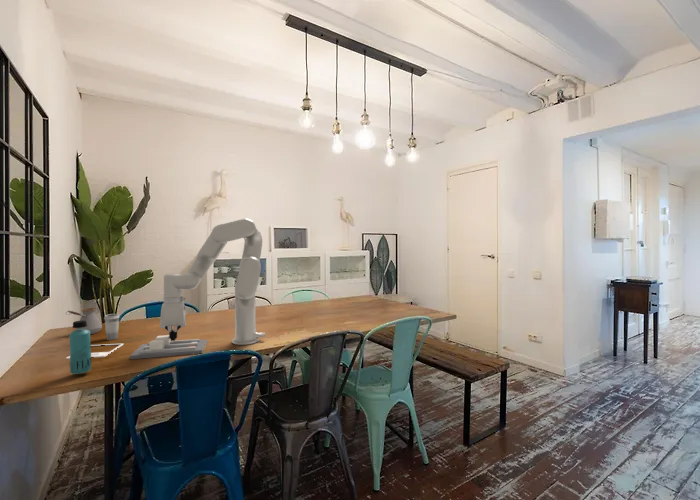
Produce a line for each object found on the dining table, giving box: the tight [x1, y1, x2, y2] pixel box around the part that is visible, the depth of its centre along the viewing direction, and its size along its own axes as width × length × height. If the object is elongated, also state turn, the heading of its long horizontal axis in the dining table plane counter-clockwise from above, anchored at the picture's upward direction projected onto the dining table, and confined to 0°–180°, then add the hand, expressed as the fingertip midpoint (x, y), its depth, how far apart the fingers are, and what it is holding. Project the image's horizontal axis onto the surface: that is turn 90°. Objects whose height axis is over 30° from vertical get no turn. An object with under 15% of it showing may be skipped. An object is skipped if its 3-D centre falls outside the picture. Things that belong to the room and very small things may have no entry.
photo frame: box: [65, 343, 124, 360], centre depth 156 cm, size 15×1×18 cm
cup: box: [103, 313, 120, 341], centre depth 176 cm, size 7×7×12 cm
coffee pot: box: [65, 307, 103, 335], centre depth 182 cm, size 21×12×15 cm, turn 5°
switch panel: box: [129, 338, 208, 360], centre depth 158 cm, size 28×17×2 cm, turn 106°
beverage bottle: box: [68, 320, 92, 375], centre depth 129 cm, size 6×7×20 cm
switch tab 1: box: [148, 339, 165, 350], centre depth 153 cm, size 5×4×4 cm
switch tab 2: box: [155, 334, 171, 345], centre depth 160 cm, size 5×4×4 cm
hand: (173, 339), depth 161 cm, fingers closed
